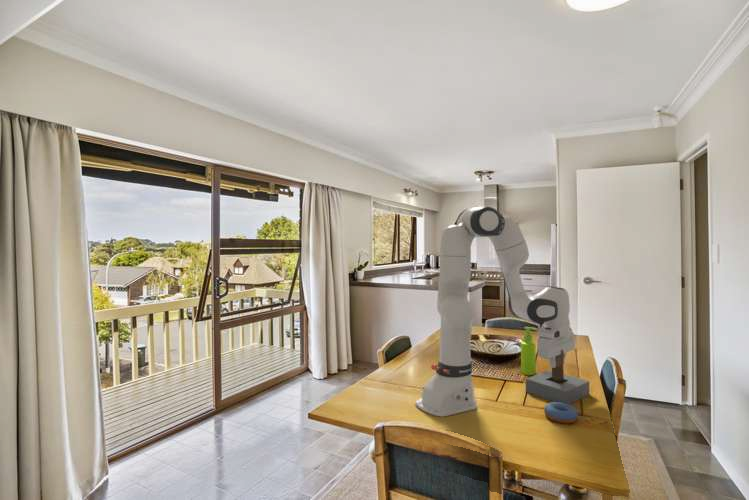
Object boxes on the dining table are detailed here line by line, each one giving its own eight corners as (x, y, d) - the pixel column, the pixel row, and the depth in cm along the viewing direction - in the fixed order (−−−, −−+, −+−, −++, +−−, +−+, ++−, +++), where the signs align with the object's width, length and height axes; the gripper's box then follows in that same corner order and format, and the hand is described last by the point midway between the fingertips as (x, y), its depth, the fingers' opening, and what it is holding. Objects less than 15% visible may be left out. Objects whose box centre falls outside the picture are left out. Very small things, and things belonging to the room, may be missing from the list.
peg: (560, 383, 142) (559, 350, 142) (549, 380, 145) (549, 348, 145) (565, 380, 144) (565, 348, 144) (555, 377, 148) (554, 346, 147)
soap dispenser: (536, 376, 163) (535, 329, 163) (519, 373, 167) (519, 327, 167) (539, 372, 168) (539, 327, 167) (523, 369, 172) (523, 325, 171)
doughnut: (578, 427, 118) (577, 412, 118) (543, 422, 123) (542, 407, 123) (579, 417, 127) (578, 403, 127) (546, 413, 132) (545, 399, 132)
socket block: (567, 405, 134) (567, 391, 134) (525, 391, 147) (525, 378, 147) (589, 394, 143) (589, 381, 143) (548, 382, 156) (548, 370, 156)
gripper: (563, 323, 153) (563, 358, 153) (533, 331, 141) (534, 369, 142) (579, 326, 148) (579, 362, 148) (550, 335, 136) (550, 373, 136)
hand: (557, 365), depth 145 cm, fingers closed on peg, 4 cm apart
